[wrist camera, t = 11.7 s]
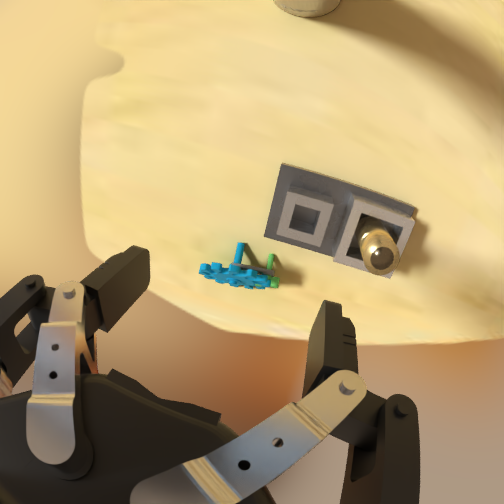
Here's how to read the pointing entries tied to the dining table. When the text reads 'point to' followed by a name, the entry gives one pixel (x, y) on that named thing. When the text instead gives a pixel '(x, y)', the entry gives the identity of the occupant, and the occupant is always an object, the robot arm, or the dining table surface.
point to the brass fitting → (376, 246)
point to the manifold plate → (332, 214)
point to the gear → (241, 272)
